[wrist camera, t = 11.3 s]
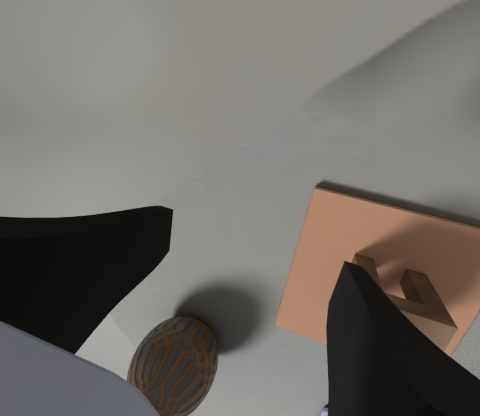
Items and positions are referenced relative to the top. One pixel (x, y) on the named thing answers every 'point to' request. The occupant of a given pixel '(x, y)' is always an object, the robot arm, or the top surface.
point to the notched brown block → (418, 303)
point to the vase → (175, 365)
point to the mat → (379, 259)
